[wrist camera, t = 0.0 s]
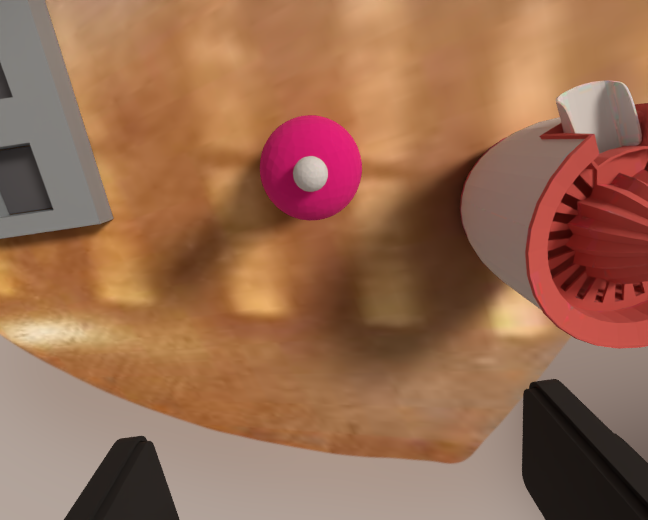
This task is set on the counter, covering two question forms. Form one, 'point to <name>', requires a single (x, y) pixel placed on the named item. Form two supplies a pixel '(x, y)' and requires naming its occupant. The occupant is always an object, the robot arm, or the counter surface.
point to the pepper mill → (310, 167)
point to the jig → (42, 132)
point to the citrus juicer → (571, 214)
